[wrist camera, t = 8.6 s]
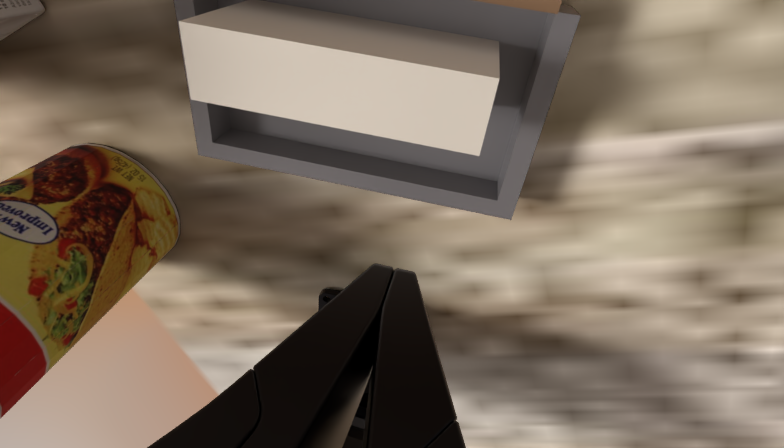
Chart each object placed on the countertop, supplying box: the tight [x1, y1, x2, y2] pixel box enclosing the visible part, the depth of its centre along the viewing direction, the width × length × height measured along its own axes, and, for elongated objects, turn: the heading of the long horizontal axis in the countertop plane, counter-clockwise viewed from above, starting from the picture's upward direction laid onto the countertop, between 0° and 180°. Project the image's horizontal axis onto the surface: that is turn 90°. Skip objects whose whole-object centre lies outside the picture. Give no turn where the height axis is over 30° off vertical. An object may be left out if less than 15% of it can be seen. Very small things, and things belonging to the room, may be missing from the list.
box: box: [174, 0, 581, 220], centre depth 18 cm, size 8×15×2 cm, turn 83°
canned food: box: [0, 143, 180, 418], centre depth 21 cm, size 8×8×12 cm
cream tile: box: [179, 0, 500, 156], centre depth 16 cm, size 5×10×2 cm
